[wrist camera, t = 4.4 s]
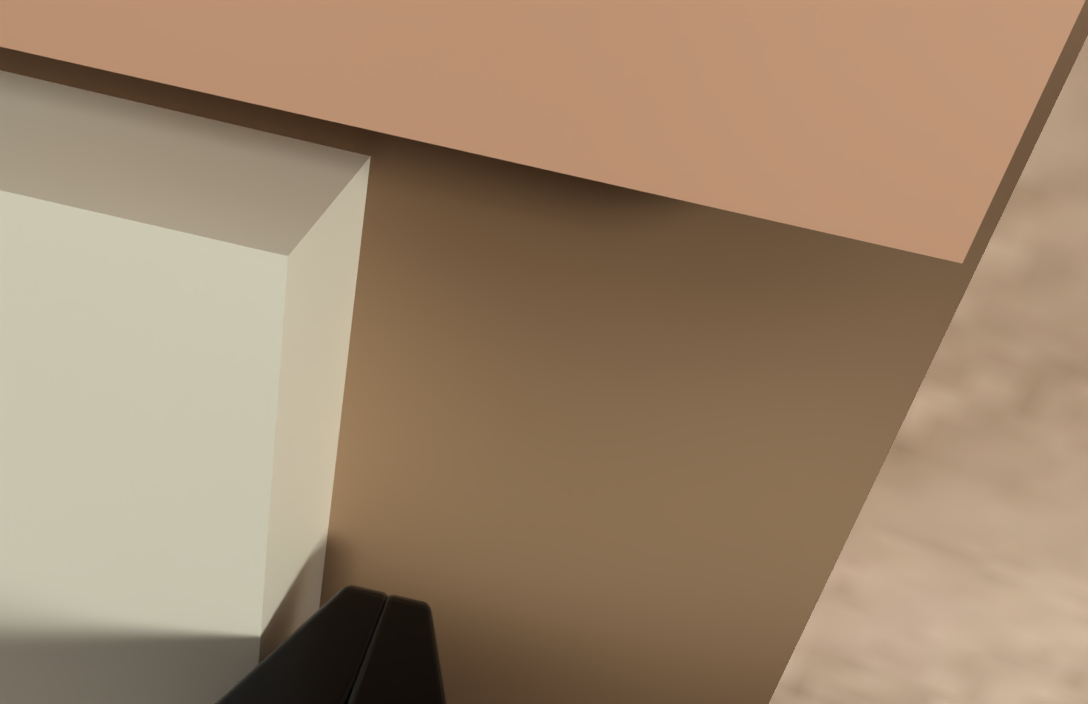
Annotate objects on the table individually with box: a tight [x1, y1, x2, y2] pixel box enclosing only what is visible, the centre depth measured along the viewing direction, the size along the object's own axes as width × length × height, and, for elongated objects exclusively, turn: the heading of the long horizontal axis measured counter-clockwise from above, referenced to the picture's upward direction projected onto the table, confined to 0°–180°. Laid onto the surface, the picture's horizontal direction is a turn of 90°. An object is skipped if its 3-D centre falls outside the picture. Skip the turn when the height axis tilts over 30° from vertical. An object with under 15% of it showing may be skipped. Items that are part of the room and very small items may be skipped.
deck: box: [0, 0, 1088, 704], centre depth 9 cm, size 18×10×4 cm, turn 169°
